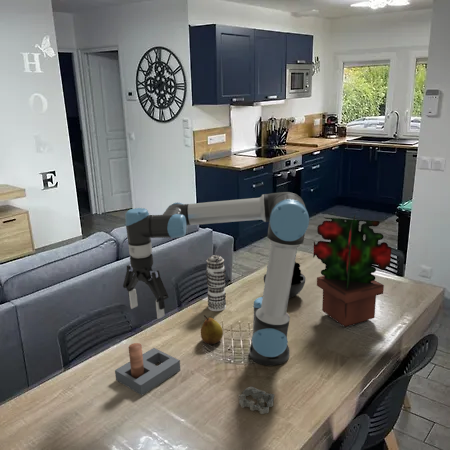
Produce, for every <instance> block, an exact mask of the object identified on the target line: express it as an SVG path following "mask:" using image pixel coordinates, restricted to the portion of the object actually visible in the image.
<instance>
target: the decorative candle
mask: <svg viewBox="0 0 450 450" xmlns="http://www.w3.org/2000/svg"><path fill="white" fill-rule="evenodd" d="M206 262H207V263H206V270H205V277H206V286H207V287H208V288H207V306H208V307H207V308H208V310H210V311H213V312H220V311H223V310H226V308H227V299H226V294H227V293H226V289H225V285H226V281H225V280H226V279H227V278H226V271H227V270H226V267H225V265H224V264H225V263H224V262H225V259H224V258H223V257H222V256H221V255H218V254H215V255H214V254H213V255H210V256H209V257H208V258H207V259H206Z"/></svg>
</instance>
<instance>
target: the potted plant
mask: <svg viewBox="0 0 450 450" xmlns="http://www.w3.org/2000/svg"><path fill="white" fill-rule="evenodd" d="M323 218H324V219H326V220H324V221H322V223H321V224H318V225H317V228H316V229H317V234H318V235H319V236H321V238H322V239H324V240H318V241H317V243H316V242H315V241H313V256H312V258H313V259H314V258H315V256H316V258H317V259H318V260H320V261H321V263H322V265H325V267H324V269H321V270H320V274H321V276H317V277H316V286H317V287H318V288H320V289H322V305H321V307H322V308H321V310H322V312H324V313H325V314H326V315H328V316H329V317H330V318H331V319H333V320H334V321H335V322H337V323H338V324H340V325H341V326H343V327H344V328H349V327H352V326H355V325H358V324H362V323H365V322H368V320H372V319H375V316H376V303H377V296H379V295H383V294H384V287H385V285H384V284H383V283H380V282H379V281H377V280H376V276H375V275H373V274H375V273H376V271H377V268H376V267H374V266H378V269H379V270H382V271H384V270H386V269H387V267H390V266H391V261H392V260H391V258H392V247H391V246H389V244H388V243H387V242H385V241H382V240H383V239H384V234H383V233H381V232H375V231H374V229H373V228H371V227H378V226H379V225H380V221H379V220H368V219H367V220H366V219H356V214H354V216H353V218H339V217H338V218H337V217H323ZM361 222H363V223H362V224H361V225H360V223H361ZM364 236H365V237H364ZM326 240H327V241H326ZM379 241H382V242H381V243H380V245H379Z"/></svg>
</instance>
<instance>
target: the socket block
mask: <svg viewBox="0 0 450 450" xmlns="http://www.w3.org/2000/svg"><path fill="white" fill-rule="evenodd" d="M142 355H143V365H144V375H142V376H140V377H139V378H137V379H135V378H133V377H132V375H131V366H130V361H129V362H127V363H125V364H123V365H121V366H120V367H118V368H117V369H115V370H114V374H115V381H117V382H119V383H120V384H122V385H124V386H126V387H127V388H129V389H130V390H131V391H133V392H135V393H137V394H138V395H140V396H143V395H145V394H146V393H148V392H149V391H151V390H152V389H153V388H155V387H157V386H159V385H160V384H161V383H163V382H164V381H166V380H168V379H169V378H170V377H172V376H174V375H175V374H177V373H178V372H180V371H181V360H180V359H178V358H176V357H173V356H171V355H170V354H167V353H166V352H164V351H162V350H160V349H157V348H156V347H153V348H151V349H149V350H148V351H145V352H144V353H142ZM158 363H159V365H157V364H158Z"/></svg>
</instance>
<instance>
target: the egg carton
mask: <svg viewBox="0 0 450 450" xmlns="http://www.w3.org/2000/svg"><path fill="white" fill-rule="evenodd" d="M249 396H251V397H252V398H253V399H254V400H256V402H257V403H256V404H255V401H254V400H249V399H248V398H247V397H249ZM237 397H238V398H239V399H238V401H239V402H238V403H239V405H240V408H244V409H245V407H246V408H249V411H252V412H253V411H258V412H259V414H261V415H264V414H268V413H269V412H270V408H272V407H273V406H274V398H275V393H268V392H266V391H265V390H261V389H258V388H256V387H254V386H249V387H246V388H245V389H244V390H243V391H242V393H241V394H238V395H237ZM265 403H266V406H265Z"/></svg>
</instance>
